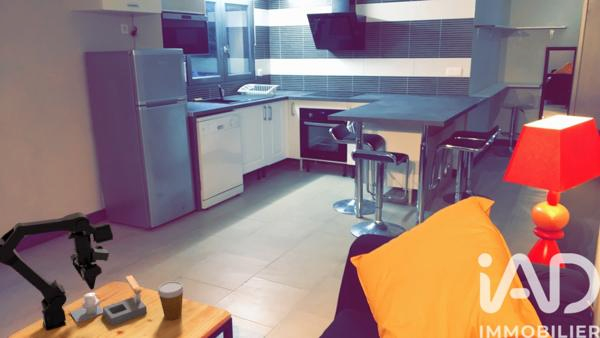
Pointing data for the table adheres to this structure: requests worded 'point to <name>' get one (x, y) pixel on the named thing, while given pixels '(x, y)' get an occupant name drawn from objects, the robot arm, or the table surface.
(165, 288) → the disposable coffee cup
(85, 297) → the plug
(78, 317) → the mat
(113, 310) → the socket base
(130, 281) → the light orange flat bar
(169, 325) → the table surface
